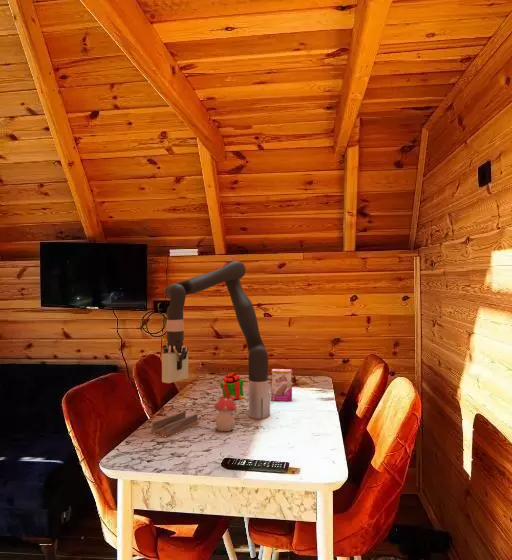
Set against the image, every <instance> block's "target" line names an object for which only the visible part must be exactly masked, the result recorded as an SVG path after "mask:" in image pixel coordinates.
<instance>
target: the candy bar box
mask: <svg viewBox="0 0 512 560" xmlns="http://www.w3.org/2000/svg"><path fill="white" fill-rule="evenodd" d="M270 380H271V381H270V382H271V390H270V391H271V395H270V402H292V400H293V369H283V368H281V369H280V368H272V369H271V379H270Z"/></svg>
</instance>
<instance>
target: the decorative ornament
mask: <svg viewBox="0 0 512 560" xmlns="http://www.w3.org/2000/svg"><path fill="white" fill-rule="evenodd" d="M220 398H221V399H220ZM220 398H219V399H218V400H217V402H215V405H214V410H217V411H219V413H218V414H217V416H216V419H215V425H216V429H218V431H219V430H220V431H219V432H223V431H228V432H231V430H232V431H233V428H234V426H235V419H234V416H233V414H232V412H235V411H236V410H237V406H236V404H235V400H236V399H235V396H234V395H230V398H227V397H224V396H223V397H220Z"/></svg>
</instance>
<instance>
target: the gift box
mask: <svg viewBox="0 0 512 560" xmlns="http://www.w3.org/2000/svg"><path fill="white" fill-rule="evenodd" d="M222 380H223V381H222V382H220V383H219V384H220V385H219V386H220V388H221V390H222V395H223V397H227V398H230V395H234V396H235V399H234V400H237V399H240V400H241V401H242V400H243V398H244V397H243V396H244V388H243V387H244V385H245V386H247V384H248V383H249V380H248V381H247V380H246V381H245V382H244V380H243V379H241V377H240V375H239V374H237V373H236V372H231V373H228V374H226V375H225V376H224V377H223V379H222ZM247 382H248V383H247ZM221 398H222V397H219V399H221Z"/></svg>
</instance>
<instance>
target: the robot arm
mask: <svg viewBox="0 0 512 560" xmlns="http://www.w3.org/2000/svg"><path fill="white" fill-rule="evenodd" d="M246 270H247V269H246V266H245V264H244V263H243V262H242V261H240V260H232V261H229V262H227V263H225V264H223V266H222V267H221V268H219V269H216V270H213V271H209V272H206V273H203V274H200V275H196V276H193V277H190V278H187V279H186V280H183V281H182V280H181V281H177V282H174V283H171V284H169V285H167V286H166V287H165V289H164V295H165V297H166V299H168V300H170V302H169V306H168V307H167V309H166V329H165V330H166V341H167V344H163V345H162V351H163V354H165V353H171V352H172V353H176V356H177V370H181V369H182V361H183V360H185V359H186V356H187V352H188V353H189V346H185V345H184V340H185V324H184V307H185V303H186V296H189V295H194V294H197V293H200V292H202V291H205V290H207V289H209V288H211V287H214V286H216V285H219V284H221V283H225V284H224V285H226V288H227V291H228V294H229V297H230V300H231V302H232V307H233V310H234V313H235V317H236V320H237V323H238V326H239V327H240V330H241V332H242V333H243V335H244V339H245V341H246V347H247V350H248V351H247V352H248V356H247V357H248V362H247V363H248V417H249V418H251V419H255V420H256V419H257V420H258V419H261V420H265V419H267V418H268V417H270V416H271V395H269V352H268V350H267V349H266V347H265V344H264V342H263V340H262V337H261V334H260V329H259V323H258V317H257V315H256V311H255V308H254V305H253V303H252V301H251V300H250V298H249V297H248V295H247V294H246V292H244V290H243V288H242V284H241V281H240V280H241V279H242V278H244V277H245V274H246ZM180 352H181V353H180ZM178 353H180V354H178ZM179 355H180V358H179ZM183 356H184V357H183Z"/></svg>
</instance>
